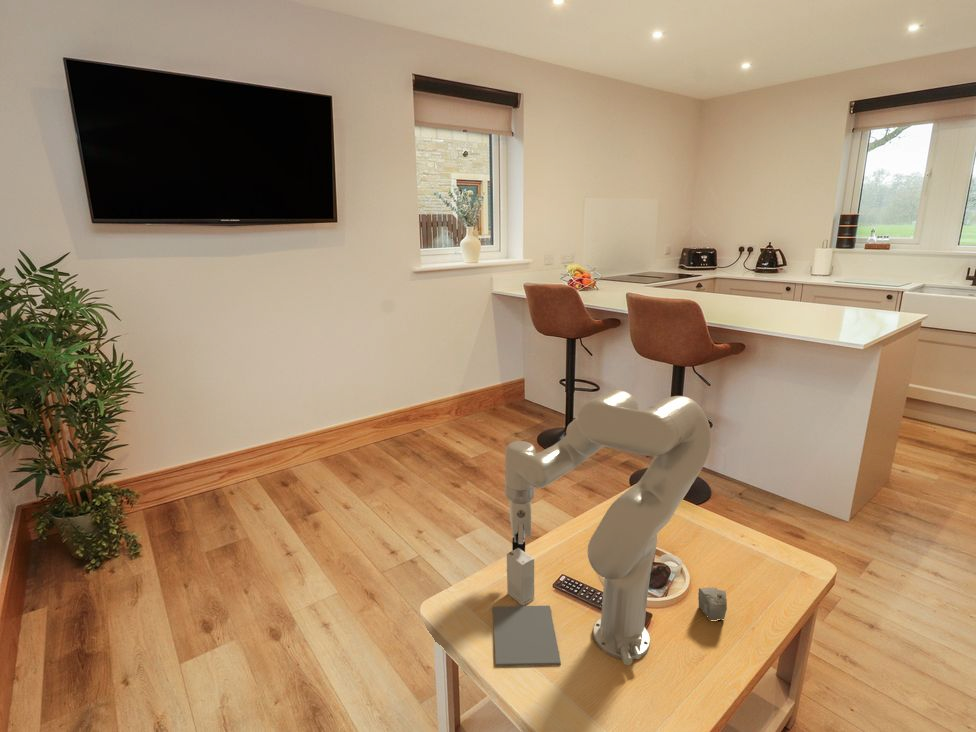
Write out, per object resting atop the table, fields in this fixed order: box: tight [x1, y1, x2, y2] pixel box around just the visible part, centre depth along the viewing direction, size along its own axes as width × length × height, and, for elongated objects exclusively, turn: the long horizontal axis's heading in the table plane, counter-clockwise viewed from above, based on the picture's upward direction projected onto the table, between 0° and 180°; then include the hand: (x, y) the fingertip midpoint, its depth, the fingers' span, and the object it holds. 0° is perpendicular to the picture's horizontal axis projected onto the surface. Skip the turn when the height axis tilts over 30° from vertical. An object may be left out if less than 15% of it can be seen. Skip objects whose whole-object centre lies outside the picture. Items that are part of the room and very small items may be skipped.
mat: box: [492, 605, 562, 667], centre depth 120 cm, size 17×14×1 cm
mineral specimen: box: [697, 587, 728, 621], centre depth 125 cm, size 7×9×8 cm
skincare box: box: [506, 548, 535, 606], centre depth 131 cm, size 6×4×12 cm
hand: (518, 552), depth 137 cm, fingers closed
